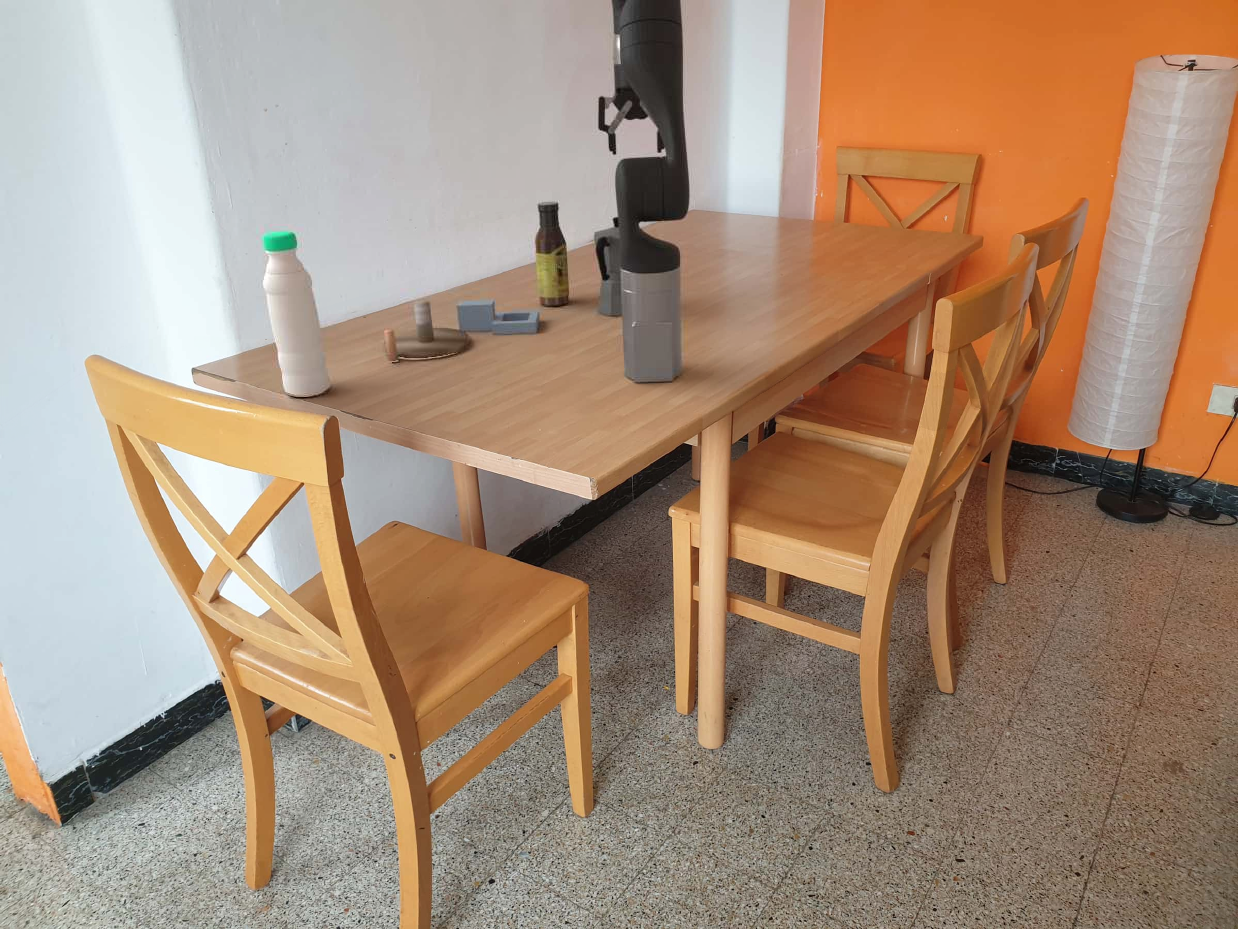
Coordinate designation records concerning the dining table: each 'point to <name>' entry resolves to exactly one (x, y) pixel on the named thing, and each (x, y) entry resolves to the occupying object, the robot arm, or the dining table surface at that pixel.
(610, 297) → the coffeepot
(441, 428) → the dining table surface
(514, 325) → the blue-grey block with frame
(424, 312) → the post stand
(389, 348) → the dowel
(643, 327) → the robot arm
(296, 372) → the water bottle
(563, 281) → the sauce bottle
